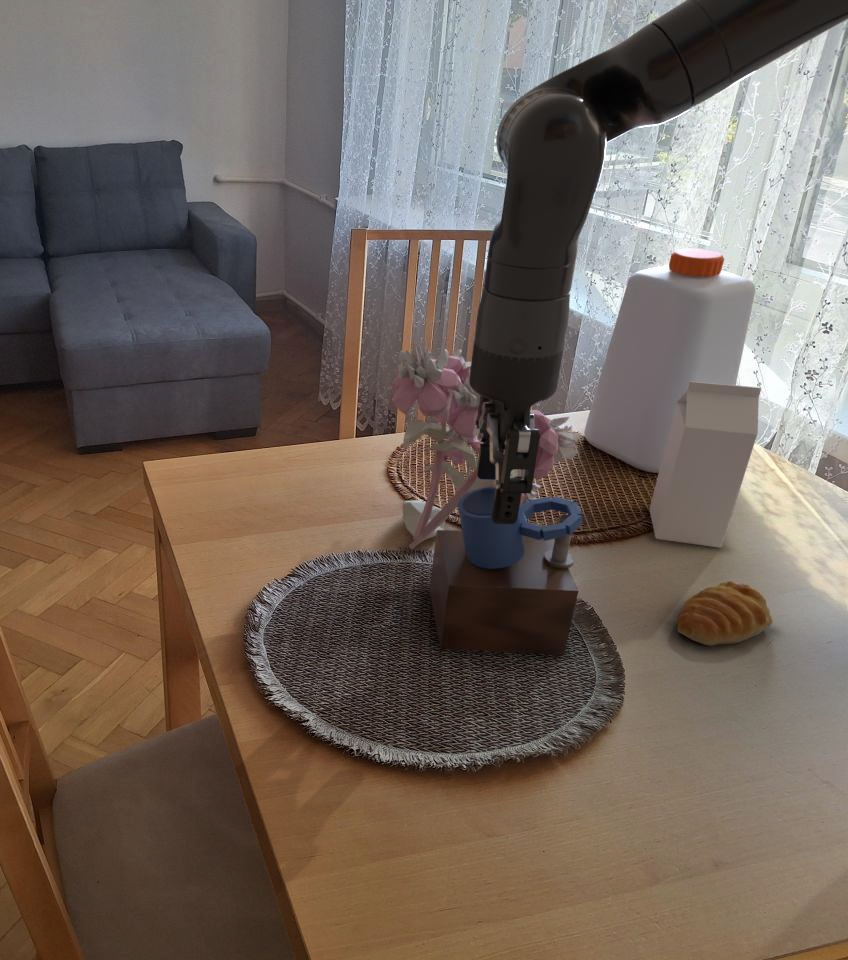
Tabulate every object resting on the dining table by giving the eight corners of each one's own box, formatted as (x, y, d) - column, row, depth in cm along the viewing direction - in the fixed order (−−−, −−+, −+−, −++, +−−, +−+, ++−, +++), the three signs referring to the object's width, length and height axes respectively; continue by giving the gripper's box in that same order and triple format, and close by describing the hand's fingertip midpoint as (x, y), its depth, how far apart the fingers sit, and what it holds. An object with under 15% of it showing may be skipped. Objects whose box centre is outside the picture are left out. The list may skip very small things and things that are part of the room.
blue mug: (574, 521, 87) (569, 470, 84) (591, 554, 81) (585, 501, 79) (462, 540, 89) (453, 491, 87) (471, 574, 84) (462, 522, 81)
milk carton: (721, 549, 101) (768, 400, 91) (654, 539, 103) (694, 393, 93) (711, 518, 106) (754, 376, 97) (648, 510, 109) (685, 370, 99)
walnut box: (548, 595, 94) (569, 492, 87) (571, 656, 85) (596, 547, 79) (429, 590, 95) (441, 488, 89) (440, 649, 86) (454, 541, 80)
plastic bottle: (655, 482, 115) (709, 275, 101) (569, 438, 127) (607, 247, 113) (733, 458, 120) (794, 258, 106) (644, 418, 132) (689, 233, 118)
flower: (561, 595, 91) (620, 363, 89) (352, 544, 96) (402, 324, 94) (538, 567, 111) (585, 376, 108) (365, 526, 116) (407, 343, 113)
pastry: (718, 662, 84) (728, 631, 82) (655, 625, 89) (664, 595, 87) (774, 629, 88) (785, 599, 86) (711, 596, 93) (720, 567, 91)
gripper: (585, 370, 69) (552, 540, 76) (544, 313, 81) (520, 465, 89) (488, 369, 69) (466, 537, 77) (463, 313, 82) (446, 463, 90)
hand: (495, 498), depth 83 cm, fingers open, 8 cm apart
